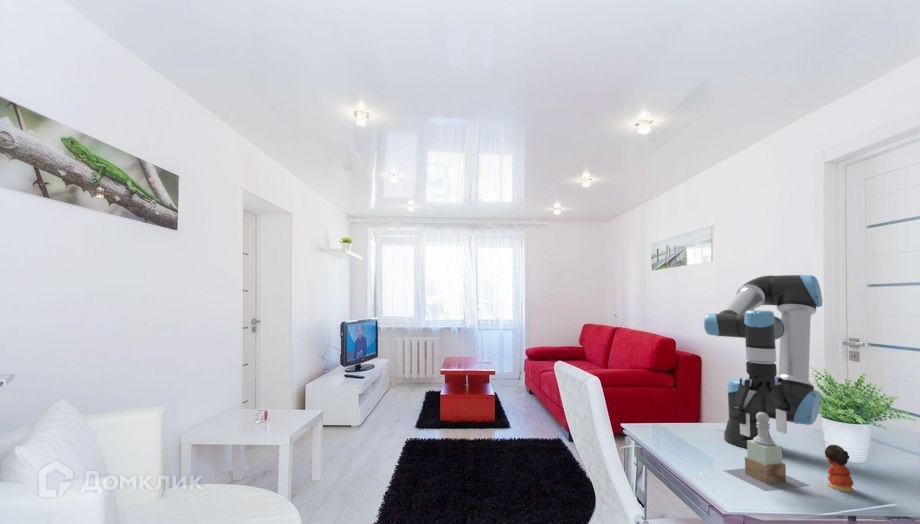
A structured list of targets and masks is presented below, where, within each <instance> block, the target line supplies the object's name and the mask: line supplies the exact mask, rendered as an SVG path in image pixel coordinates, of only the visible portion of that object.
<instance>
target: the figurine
mask: <svg viewBox="0 0 920 524" xmlns="http://www.w3.org/2000/svg"><path fill="white" fill-rule="evenodd" d="M824 456H825V458H826V460H827V462H828V464H829V465H830V466H829V467H828V470H827V473H828V475H827V479H828V482H829V483H827V487H829V488H831V489H833V490H836V491H841V492H847V493H853V492H854V491H855V490H854V488H853V487H852V486H853V485H854V481H853V478H852V476H851V475H852V472H850V470H849V468H848V467H847V466H846V464H847V463H849V462H848V460H849V459H850V456H849V453H848V451H847V450H845V449H844V448H843V447H841V446H840V445H837V444H829V445H828V446H827V447H826V448H825V449H824Z"/></svg>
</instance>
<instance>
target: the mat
mask: <svg viewBox="0 0 920 524" xmlns="http://www.w3.org/2000/svg"><path fill="white" fill-rule="evenodd" d="M723 472H726V473H727V474H730V475H731V476H733V477H736V478H737V479H740V480H742V481H744V482H745V483H748V484H750V485H751V486H754V487H756V488H758V489H760V490H763V491H765V492H769V491H777V490H778V491H779V490H785V489H793V488H794V489H795V488H802V487H811V484H808V483H805V482H803V481H801V480H798V479H796V478H794V477H792V476H790V475H787V474H786V482H779V483H770V484H766V483H764V482H762V481H759V480H757V479H755V478H753V477H751V476H749V475H747V474H745V467H744V468H736V469H726V470H725V469H724V470H723Z"/></svg>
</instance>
